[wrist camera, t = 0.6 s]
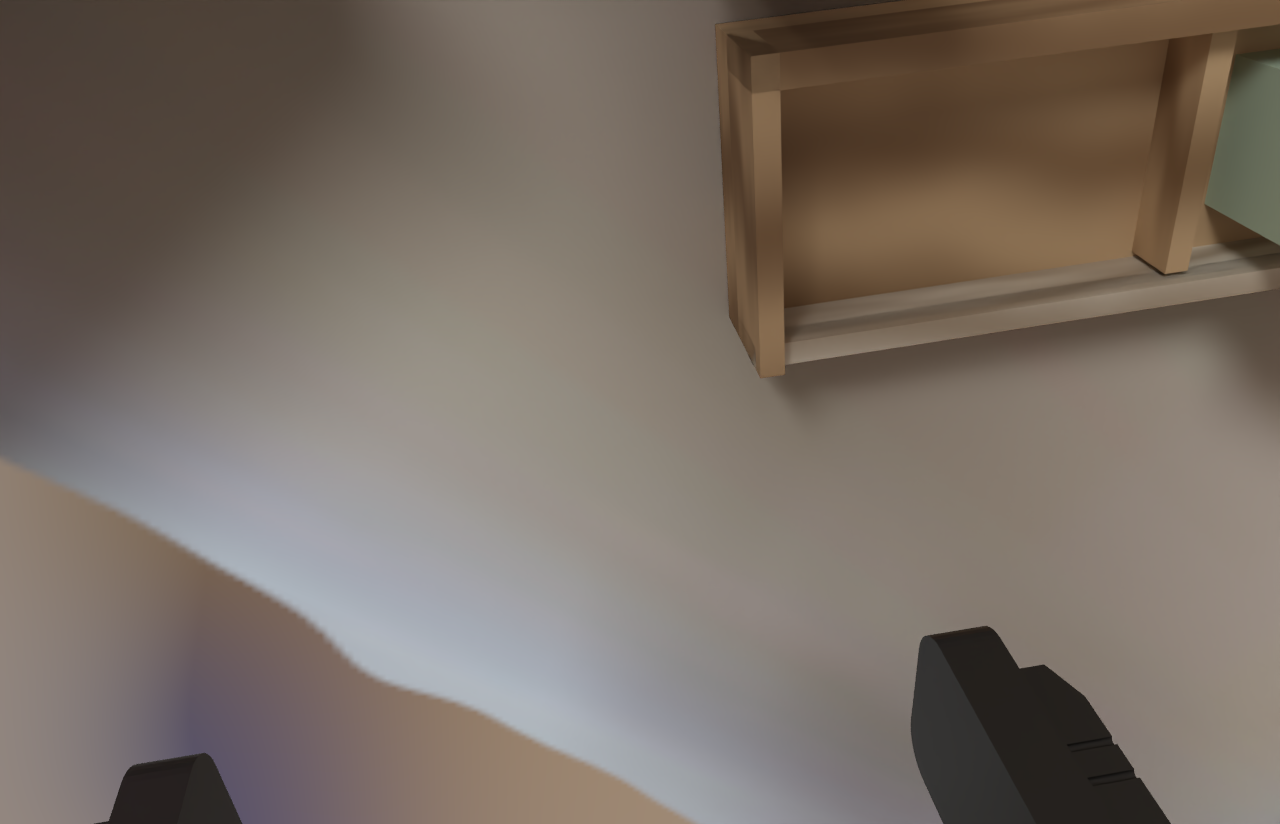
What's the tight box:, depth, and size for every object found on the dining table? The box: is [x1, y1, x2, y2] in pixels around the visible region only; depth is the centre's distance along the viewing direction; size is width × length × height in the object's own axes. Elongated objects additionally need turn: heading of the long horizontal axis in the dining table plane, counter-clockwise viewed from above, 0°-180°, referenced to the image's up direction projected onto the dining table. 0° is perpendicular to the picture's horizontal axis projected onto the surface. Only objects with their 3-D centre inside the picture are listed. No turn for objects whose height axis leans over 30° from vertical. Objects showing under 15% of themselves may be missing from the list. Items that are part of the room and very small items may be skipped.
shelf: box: [715, 0, 1280, 378], centre depth 33 cm, size 10×28×4 cm, turn 95°
